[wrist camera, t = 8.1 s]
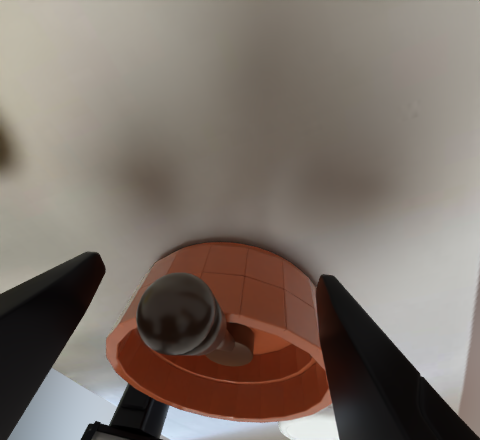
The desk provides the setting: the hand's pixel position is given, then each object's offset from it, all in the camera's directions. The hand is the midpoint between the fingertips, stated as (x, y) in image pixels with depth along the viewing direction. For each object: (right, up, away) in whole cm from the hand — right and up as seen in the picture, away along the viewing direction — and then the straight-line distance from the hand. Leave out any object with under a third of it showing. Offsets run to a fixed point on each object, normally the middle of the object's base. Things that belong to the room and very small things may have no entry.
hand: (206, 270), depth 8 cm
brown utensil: (+1, -3, +9) cm, 9 cm away
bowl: (0, -6, +12) cm, 13 cm away
